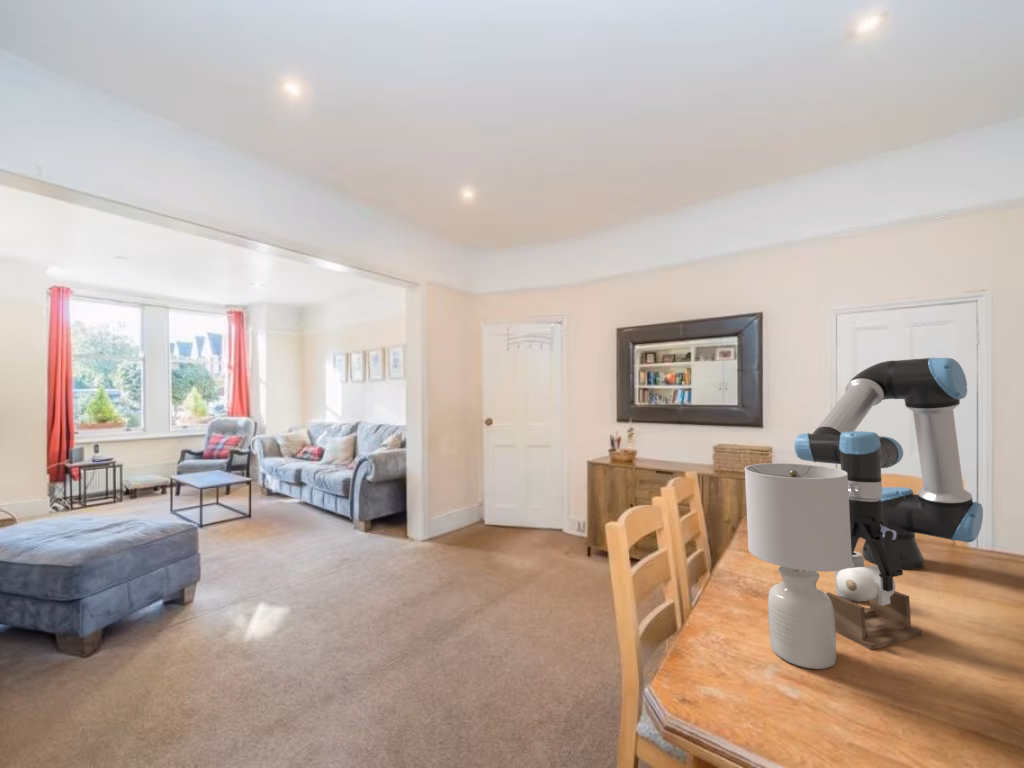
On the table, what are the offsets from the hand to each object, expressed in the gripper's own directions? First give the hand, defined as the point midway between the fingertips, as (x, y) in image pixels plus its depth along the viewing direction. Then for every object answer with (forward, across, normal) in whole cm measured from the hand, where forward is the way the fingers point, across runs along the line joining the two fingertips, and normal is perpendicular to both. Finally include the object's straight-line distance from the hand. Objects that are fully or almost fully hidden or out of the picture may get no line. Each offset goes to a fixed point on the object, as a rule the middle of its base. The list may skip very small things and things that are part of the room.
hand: (866, 596), depth 105 cm
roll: (0, 0, 0) cm, 0 cm away
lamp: (+8, +2, -22) cm, 24 cm away
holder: (+8, 0, 0) cm, 8 cm away
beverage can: (+8, -13, +12) cm, 20 cm away
